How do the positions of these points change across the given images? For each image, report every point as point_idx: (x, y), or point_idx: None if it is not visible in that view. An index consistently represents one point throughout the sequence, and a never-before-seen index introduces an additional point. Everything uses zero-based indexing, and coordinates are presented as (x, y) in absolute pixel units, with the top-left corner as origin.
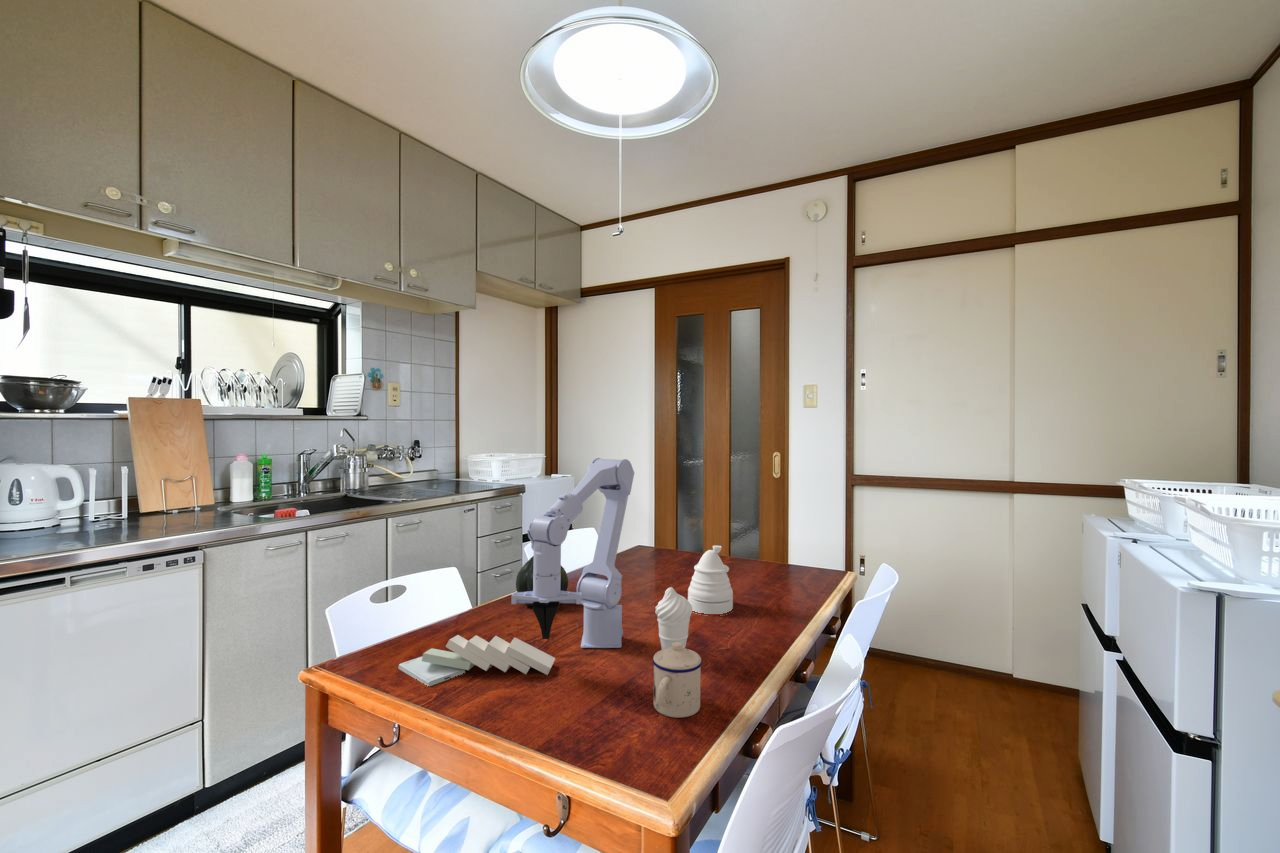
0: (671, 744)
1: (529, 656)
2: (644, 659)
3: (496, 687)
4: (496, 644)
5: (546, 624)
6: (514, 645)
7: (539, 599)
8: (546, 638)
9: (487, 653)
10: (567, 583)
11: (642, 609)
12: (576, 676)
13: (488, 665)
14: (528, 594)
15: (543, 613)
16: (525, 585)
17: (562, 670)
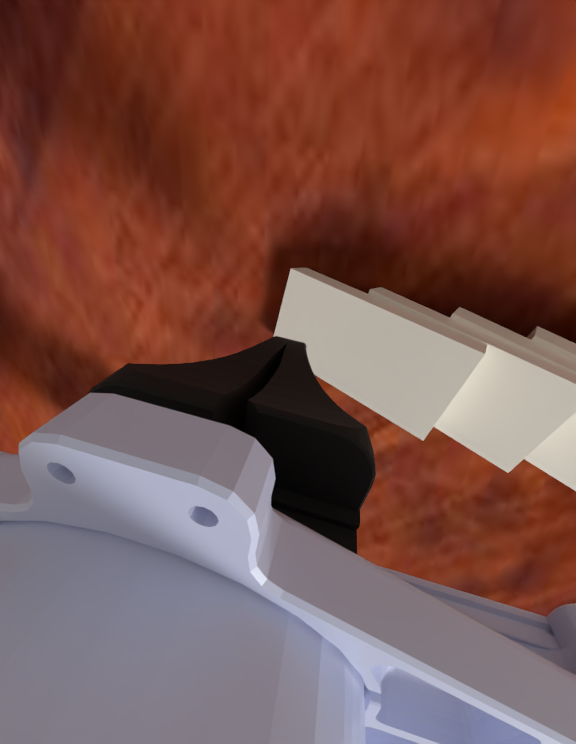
0: None
1: (371, 311)
2: (31, 310)
3: (524, 195)
4: (525, 403)
5: (266, 360)
6: (438, 375)
7: (258, 521)
8: (285, 338)
9: (566, 367)
10: None
11: None
12: (209, 234)
13: (538, 334)
14: (429, 728)
15: (265, 395)
16: None
17: (255, 294)
